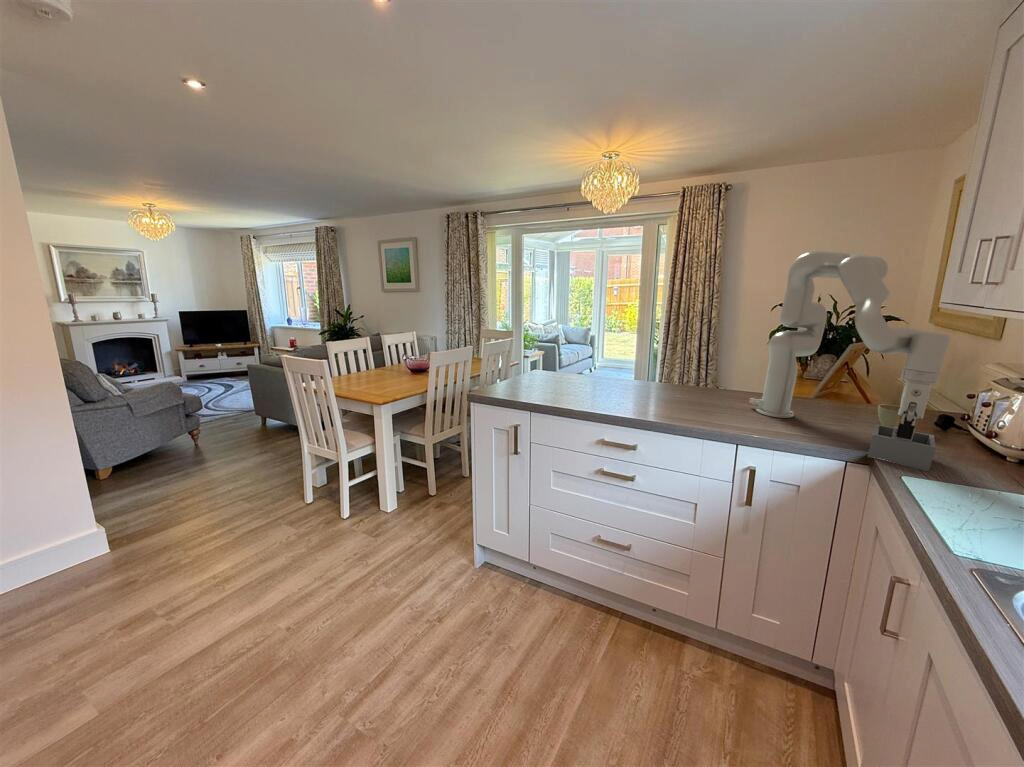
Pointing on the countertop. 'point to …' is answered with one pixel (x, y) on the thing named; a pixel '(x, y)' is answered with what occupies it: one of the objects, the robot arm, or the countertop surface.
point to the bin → (902, 448)
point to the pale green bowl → (888, 414)
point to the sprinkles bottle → (898, 426)
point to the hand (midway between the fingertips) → (903, 433)
